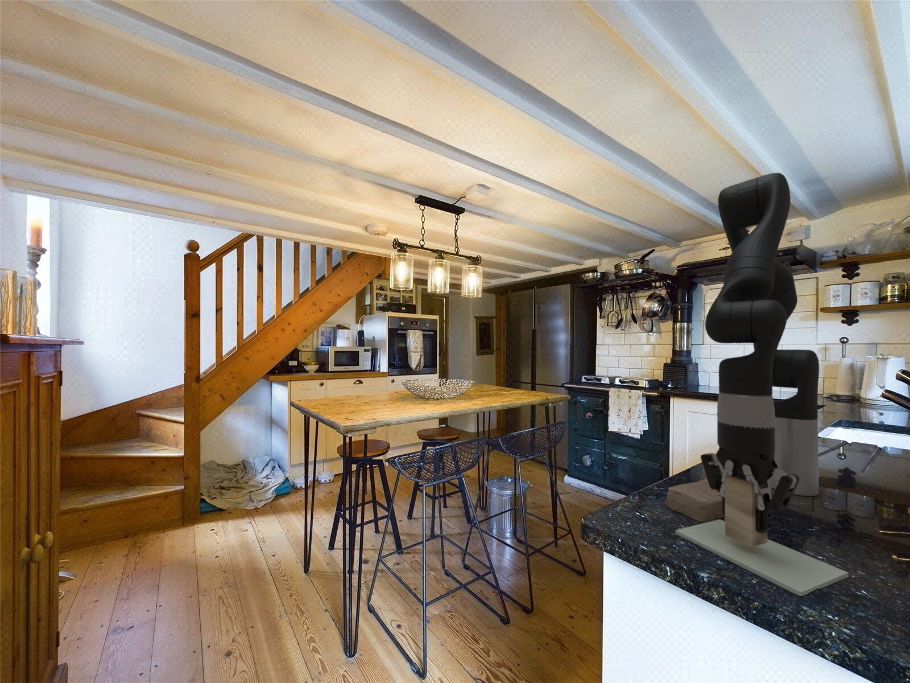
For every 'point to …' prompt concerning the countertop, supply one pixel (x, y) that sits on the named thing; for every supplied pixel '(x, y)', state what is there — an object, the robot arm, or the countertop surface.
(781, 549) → the flat grey rectangular slab
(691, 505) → the brick
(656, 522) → the countertop surface
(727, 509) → the beech block
